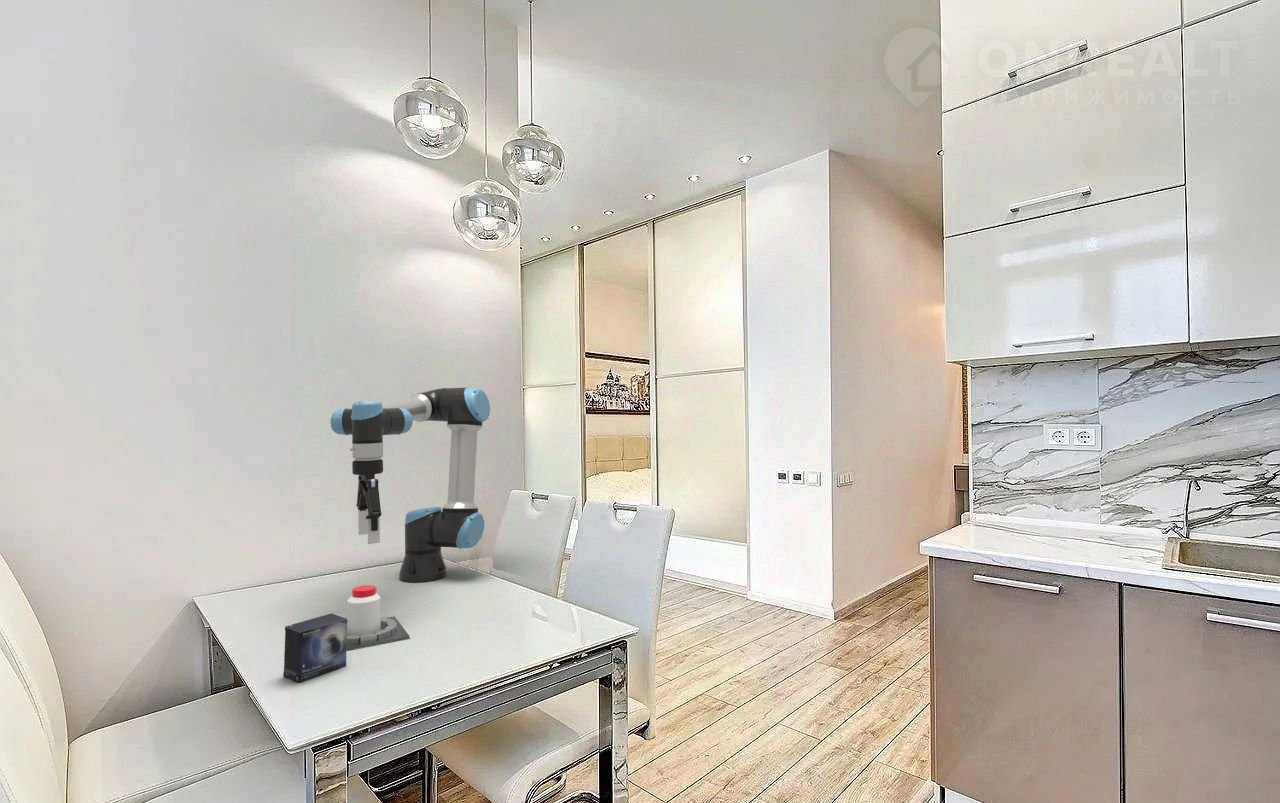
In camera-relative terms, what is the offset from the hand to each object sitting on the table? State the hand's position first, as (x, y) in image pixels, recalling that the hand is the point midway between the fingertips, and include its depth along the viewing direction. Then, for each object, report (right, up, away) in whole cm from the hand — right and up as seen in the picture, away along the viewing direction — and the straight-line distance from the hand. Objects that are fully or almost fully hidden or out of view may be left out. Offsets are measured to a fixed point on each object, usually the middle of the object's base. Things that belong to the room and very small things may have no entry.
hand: (368, 538), depth 162 cm
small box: (+3, -21, -33) cm, 39 cm away
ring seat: (+4, -22, -11) cm, 24 cm away
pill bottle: (+4, -21, -11) cm, 24 cm away
